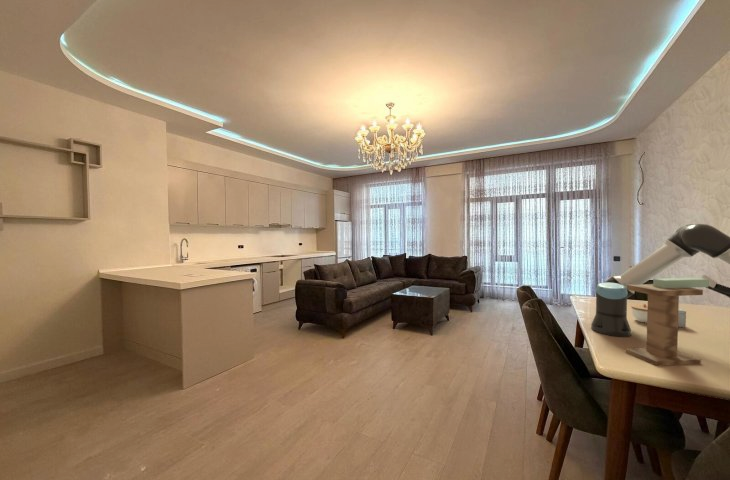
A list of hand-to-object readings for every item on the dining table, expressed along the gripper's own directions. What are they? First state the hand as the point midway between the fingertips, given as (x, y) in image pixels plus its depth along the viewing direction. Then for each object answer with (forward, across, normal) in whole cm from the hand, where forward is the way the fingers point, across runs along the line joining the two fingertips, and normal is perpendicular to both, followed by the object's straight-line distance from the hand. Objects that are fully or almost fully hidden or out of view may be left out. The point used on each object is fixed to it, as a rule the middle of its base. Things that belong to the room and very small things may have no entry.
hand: (723, 280), depth 118 cm
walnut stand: (+10, -1, -40) cm, 41 cm away
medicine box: (-32, +32, -16) cm, 48 cm away
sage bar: (+18, -1, -12) cm, 21 cm away
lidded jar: (-25, +40, -20) cm, 52 cm away
